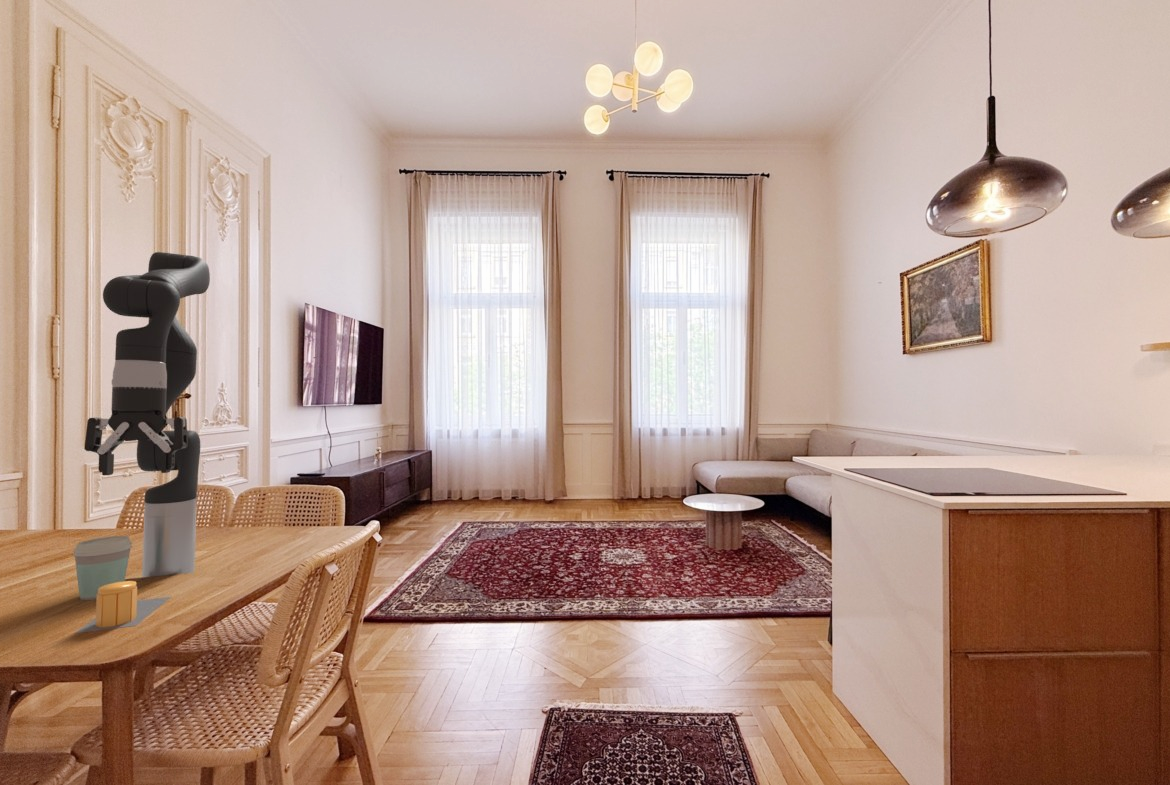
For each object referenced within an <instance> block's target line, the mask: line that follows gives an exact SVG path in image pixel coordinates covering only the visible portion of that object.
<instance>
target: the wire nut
mask: <svg viewBox="0 0 1170 785" xmlns="http://www.w3.org/2000/svg"><path fill="white" fill-rule="evenodd" d="M137 600H138V586H137V581H134V580H125V581H123V582H116V583H112V584H108V585H105V586H102V587H100V588H99V589H98V594H97V599H95V601H96V602H95V603H96V604H95V619H96V626H98V627H111V626H116V625H121V624H124V623H127V622H130V621H132V620H133V619H135V618H136V612H137Z"/></svg>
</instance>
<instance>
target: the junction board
mask: <svg viewBox="0 0 1170 785" xmlns="http://www.w3.org/2000/svg"><path fill="white" fill-rule="evenodd" d="M170 599H171V596H167V597H157V598H149V599H148V598H146V599H140V600H139V599H137V612H136V618H135V619H133V620H132V621H130V622H127V623H124V624H121V625H116V626H111V627H98V626H96V618H94V619H93V620H91V621H90V622H89V623H87V624H86V625H84V626H83V627H81V628H80V629H78V630H77V631H76V632H74V634H81V633H89V632H90V633H91V632H96V631H106V630H113V629H122V628H129V627H136V626H138V625H139V624H140V623H141V622H143V621H144V620H145V619H146V618H148V617H149V616H150V615H151V614H152V613H153V612H155V611H156V610H157V609H159V608H160V606H162V605H163V604H164V603H166V602H167V601H168V600H170Z"/></svg>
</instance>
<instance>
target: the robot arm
mask: <svg viewBox="0 0 1170 785" xmlns="http://www.w3.org/2000/svg"><path fill="white" fill-rule="evenodd" d="M209 268H210V267H209V265H208V263H207V262H206V260H204V259H203V258H202V257H198V256H195V255H187V254H177V253H171V252H164V251H163V252H161V251H157V252H154V253H152V254H151V256H150V258H149V261H148V270H147V271H148V272H145V273H143V274H136V275H135V274H134V275H121V276H116V277H113V278H112V279H110V280H109V281H108V282H107V283H106V284H105V285H104V288H103V290H102V300H103V302H104V305H105V306H106V307H107V309H108V310H109V311H111V312H112V313H114V314H116V315H118V316H121V317H133V318H144V319H145V318H146V319H147V318H148V323H147V324H146V325H145V326H142V327H133V328H126V329H122V330H120V331H118V332H117V334H116V337H115V352H114V354H115V355H114V357H115V358H114V359H115V361H114V367H113V371H112V379H111V385H112V386H111V388H112V389H111V415H110V417H109V418H102V417H89V418H88V419H87V423H86V430H85V431H86V432H85V441H84V448H83V449H84V450H85V451H86V452H92V453H95V454H97V455H98V472H99V473H101V475H102V476H111V475H113V474H114V469H115V468H114V465H115V454H114V453H113V452H114V451H115V449H116V448H118V446H120V445H121V444H123V443H124V442H133V441H135V442H136V441H137V445H136V461H137V466H138V467H139V469H140V470H141V471H143V472H161V474H168V473H170V472H171V471H177V474H176V477H175V478H173V479H171V480H170V481H167V482H166V483H163V484H160V485H156V486H154V487H151V488H148V489H147V490H146V491H145V493H144V506H143V507H144V509H143V510H144V511H143V540H142V541H143V542H142V566H141V567H142V568H141V569H142V570H141V578H151V577H153V578H154V577H164V576H173V575H179V574H180V575H181V574H192V573H195V567H196V566H195V565H196V564H195V561H196V539H197V538H196V533H197V532H196V530H197V501H198V500H197V499H198V498H197V497H198V496H197V494H198V481H199V480H198V479H199V466H200V456H201V439H200V435H199V433H198V432H196V431H194V430H188V423H187V422H188V421H187V418H186V417H184V416H178V417H176V416H175V417H173V418H168V416H167V413H168V411H169V410H170V409H171V407H172V405H173V404H174V403H175V401H176V400H177V399H178V398H179V397H180V396H181V395H182V394H183V392H185V391H186V389H187V388H188V387H190V385H191V383H192V382H193V380H194V378H195V377H196V373H197V361H198V360H197V358H198V349H197V347H196V344H195V342H194V340H193V339H192V337H191V336H190V334H189V333H188V332H187V331H186V329H185V328H184V326H182V323H181V322H180V321H179V320H178V318H177V317H176V316H177V313H178V311H179V308H180V304H181V299H183V298H187V297H189V296H190V297H191V296H195V295H202V294H204V293H206V292H207V290H208V289H209V286H210V281H211V278H210V276H211V274H210V269H209ZM168 425H169V426H170V429H172V430H164V429H165V428H166V427H167V426H168ZM108 426H109V427H110V428H111V429H112V431H113V433H111V434H110V435H109V436H108V437H107V438H106V439H105V442H104V443H103V444H102V437H103V430H106V428H107V427H108Z"/></svg>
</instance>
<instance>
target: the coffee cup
mask: <svg viewBox="0 0 1170 785" xmlns="http://www.w3.org/2000/svg"><path fill="white" fill-rule="evenodd" d="M132 547H133V543H132V542H131V539H130V536H126V535H115V536H114V535H113V536H112V535H111V536H103V537H95V538H90V539H87V540H83V541H79V542H78V543H77V544H76V546H75V548H74V549H73V553H72V556H73V557H74V561H75V569H76V570H75V571H76V576H77V577H76V578H77V585H78V595H79V599H80V600H82V601H92V600H97V594H98V589H99V588H100V587H102V586H105V585H108V584H112V583H116V582H123V581H126V576H127V570H128V565H129V564H128V563H129V559H130V554H131V549H132Z"/></svg>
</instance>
